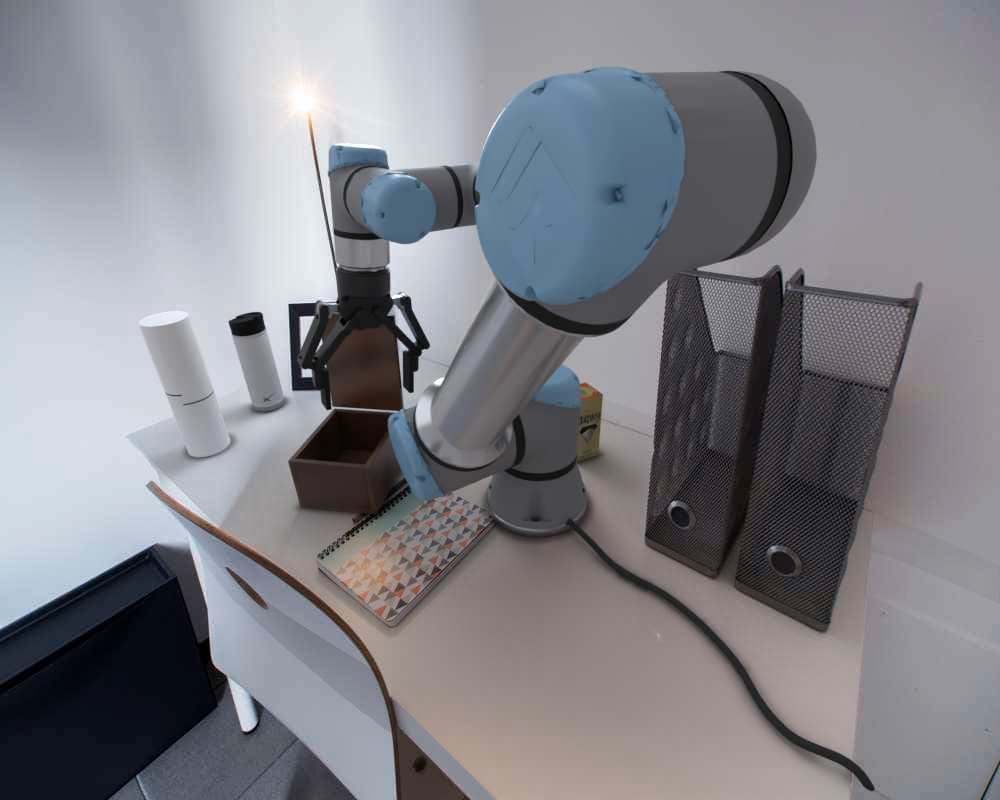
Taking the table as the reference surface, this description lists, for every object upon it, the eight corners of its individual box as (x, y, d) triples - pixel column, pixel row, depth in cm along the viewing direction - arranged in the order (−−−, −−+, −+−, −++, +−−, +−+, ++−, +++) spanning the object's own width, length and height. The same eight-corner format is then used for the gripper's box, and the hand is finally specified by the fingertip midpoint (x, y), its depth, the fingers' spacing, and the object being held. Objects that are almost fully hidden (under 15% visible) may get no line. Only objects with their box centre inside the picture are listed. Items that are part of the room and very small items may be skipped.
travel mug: (276, 413, 108) (250, 321, 98) (247, 411, 109) (219, 319, 99) (292, 398, 113) (269, 309, 103) (264, 396, 114) (239, 308, 105)
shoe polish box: (598, 454, 92) (602, 394, 86) (574, 462, 90) (577, 401, 85) (582, 440, 96) (585, 382, 90) (559, 448, 94) (560, 389, 88)
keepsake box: (376, 514, 80) (368, 468, 76) (300, 507, 82) (287, 461, 78) (409, 455, 94) (403, 412, 89) (342, 450, 96) (334, 408, 91)
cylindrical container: (201, 435, 101) (155, 311, 89) (237, 435, 101) (196, 310, 89) (180, 457, 95) (128, 326, 83) (218, 457, 95) (172, 326, 82)
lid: (392, 315, 82) (394, 314, 83) (317, 313, 84) (319, 311, 85) (402, 411, 89) (404, 409, 89) (332, 406, 91) (334, 404, 91)
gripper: (430, 254, 84) (429, 374, 94) (263, 264, 71) (282, 402, 81) (453, 265, 78) (449, 392, 88) (276, 279, 66) (294, 425, 76)
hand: (369, 397), depth 85 cm, fingers open, 13 cm apart
